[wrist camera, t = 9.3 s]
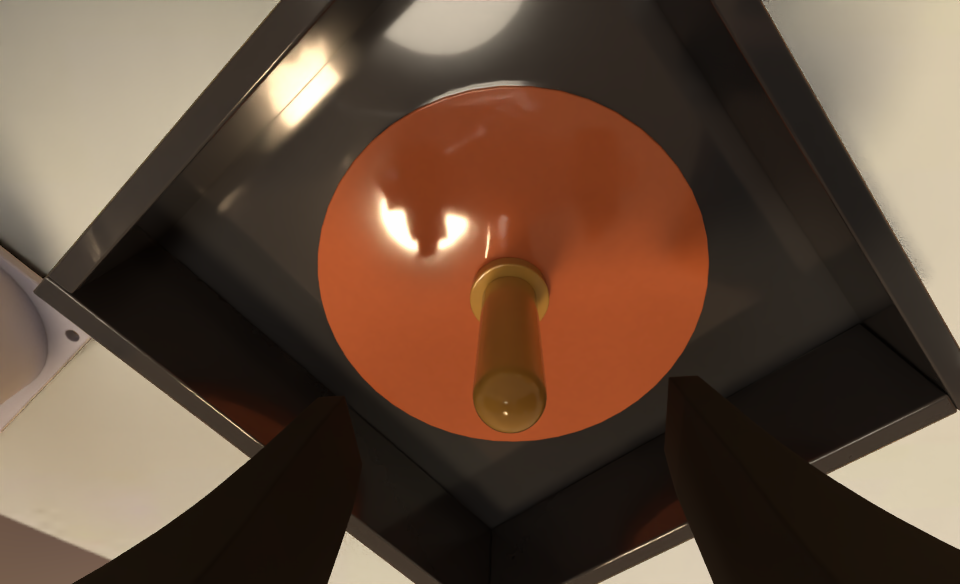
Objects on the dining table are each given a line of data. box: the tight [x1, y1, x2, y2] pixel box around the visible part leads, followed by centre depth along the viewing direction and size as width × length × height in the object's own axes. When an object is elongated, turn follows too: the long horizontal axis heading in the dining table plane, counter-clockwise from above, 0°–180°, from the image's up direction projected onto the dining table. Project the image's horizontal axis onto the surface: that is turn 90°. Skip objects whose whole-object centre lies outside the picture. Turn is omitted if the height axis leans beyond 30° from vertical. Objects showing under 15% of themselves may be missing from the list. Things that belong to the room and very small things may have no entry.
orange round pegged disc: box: [318, 83, 709, 442], centre depth 15 cm, size 13×13×7 cm
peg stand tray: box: [33, 0, 960, 584], centre depth 17 cm, size 19×20×5 cm
